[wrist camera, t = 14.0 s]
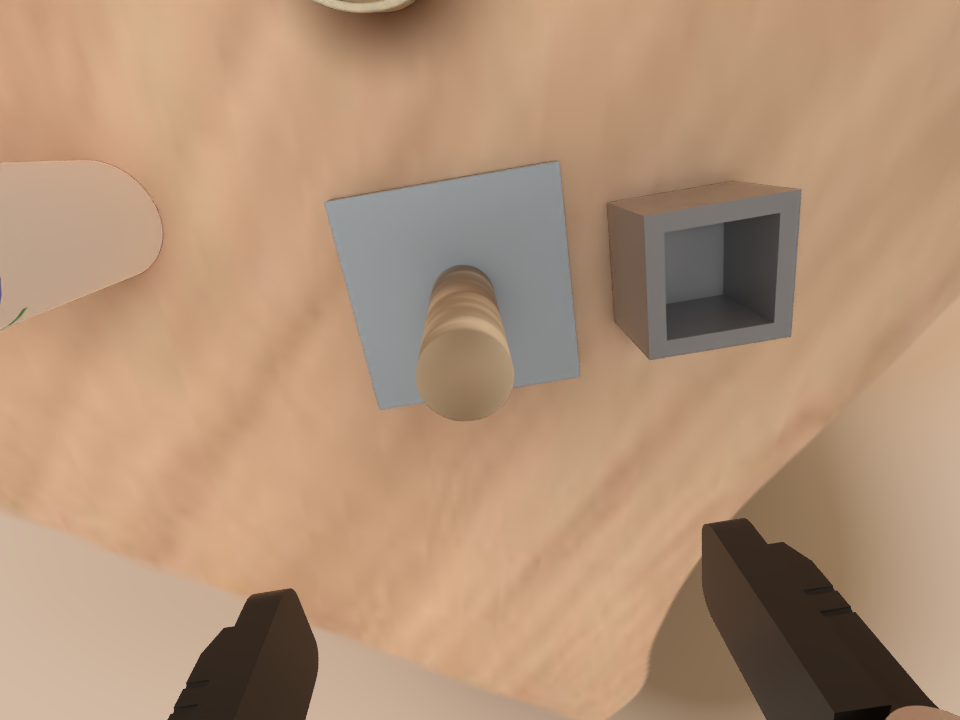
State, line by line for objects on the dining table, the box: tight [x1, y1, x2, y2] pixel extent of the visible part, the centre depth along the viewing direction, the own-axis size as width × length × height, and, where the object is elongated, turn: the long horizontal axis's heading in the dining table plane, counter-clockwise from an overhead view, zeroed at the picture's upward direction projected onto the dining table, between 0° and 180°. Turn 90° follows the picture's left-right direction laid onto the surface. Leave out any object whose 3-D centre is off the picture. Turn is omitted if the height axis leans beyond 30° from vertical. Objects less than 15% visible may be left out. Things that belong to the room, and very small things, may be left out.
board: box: [324, 161, 580, 410], centre depth 34 cm, size 14×14×2 cm
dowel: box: [416, 265, 514, 421], centre depth 27 cm, size 4×4×13 cm
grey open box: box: [607, 181, 802, 360], centre depth 31 cm, size 8×8×7 cm
